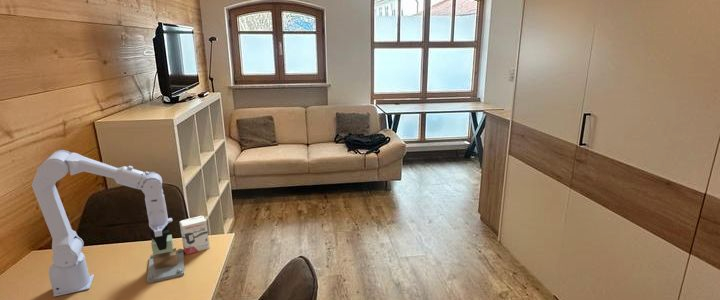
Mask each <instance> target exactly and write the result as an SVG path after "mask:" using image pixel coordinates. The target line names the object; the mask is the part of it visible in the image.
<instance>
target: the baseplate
mask: <svg viewBox="0 0 720 300" xmlns="http://www.w3.org/2000/svg"><path fill="white" fill-rule="evenodd" d="M176 251H177V257H178V265H174V266H170V267H165V268H160V269H156V270H155V268H154V262H153V253H152V254H151V255H150V256H149V260H148V269H147V275H146V276H147V277H146V284H150V283H156V282H161V281H165V280H168V279H173V278H178V277H182V276H185V251H184V248H178V249H176Z"/></svg>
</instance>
